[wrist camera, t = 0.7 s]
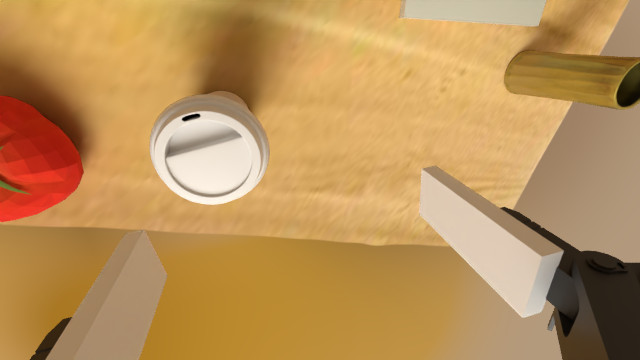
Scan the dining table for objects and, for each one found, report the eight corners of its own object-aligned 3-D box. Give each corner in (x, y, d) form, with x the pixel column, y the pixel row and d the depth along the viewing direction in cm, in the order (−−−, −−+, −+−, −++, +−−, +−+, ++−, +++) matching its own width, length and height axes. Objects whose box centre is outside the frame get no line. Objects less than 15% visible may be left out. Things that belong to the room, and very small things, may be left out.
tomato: (94, 204, 37) (54, 246, 29) (-36, 183, 32) (-121, 225, 25) (102, 110, 32) (59, 130, 25) (-45, 71, 28) (-152, 81, 21)
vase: (500, 96, 43) (602, 118, 31) (507, 52, 41) (624, 57, 28) (534, 90, 44) (647, 109, 32) (544, 47, 41) (672, 49, 29)
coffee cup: (266, 83, 35) (277, 108, 22) (259, 156, 39) (265, 214, 26) (181, 70, 32) (136, 89, 19) (182, 150, 36) (145, 211, 23)
